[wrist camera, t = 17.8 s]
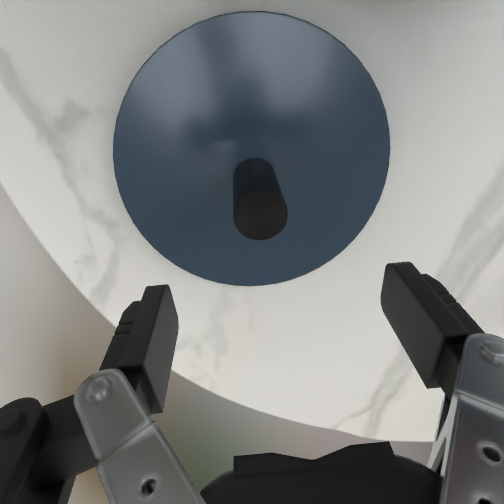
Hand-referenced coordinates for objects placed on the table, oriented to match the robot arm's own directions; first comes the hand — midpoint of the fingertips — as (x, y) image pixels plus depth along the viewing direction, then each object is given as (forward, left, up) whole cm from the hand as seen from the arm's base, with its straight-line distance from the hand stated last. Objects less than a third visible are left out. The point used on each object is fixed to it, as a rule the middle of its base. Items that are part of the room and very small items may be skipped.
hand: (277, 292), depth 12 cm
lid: (0, 0, -13) cm, 13 cm away
